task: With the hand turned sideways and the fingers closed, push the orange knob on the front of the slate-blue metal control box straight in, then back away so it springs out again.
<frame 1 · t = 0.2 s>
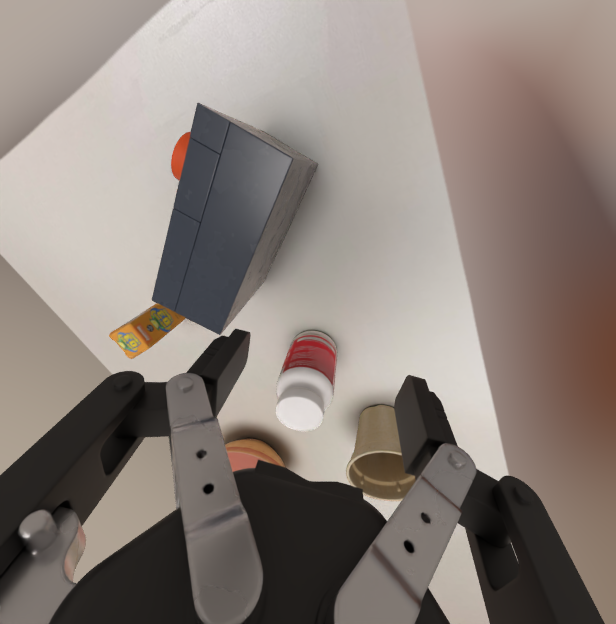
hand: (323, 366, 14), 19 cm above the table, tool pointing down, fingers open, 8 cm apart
pill bottle: (314, 348, 36), on the table
control box: (263, 216, 29), on the table
vase: (256, 450, 48), on the table
knob: (203, 166, 21), point 7 cm above the table, slide at -0.1 cm
supplement box: (184, 300, 36), on the table
flower pot: (380, 418, 40), on the table
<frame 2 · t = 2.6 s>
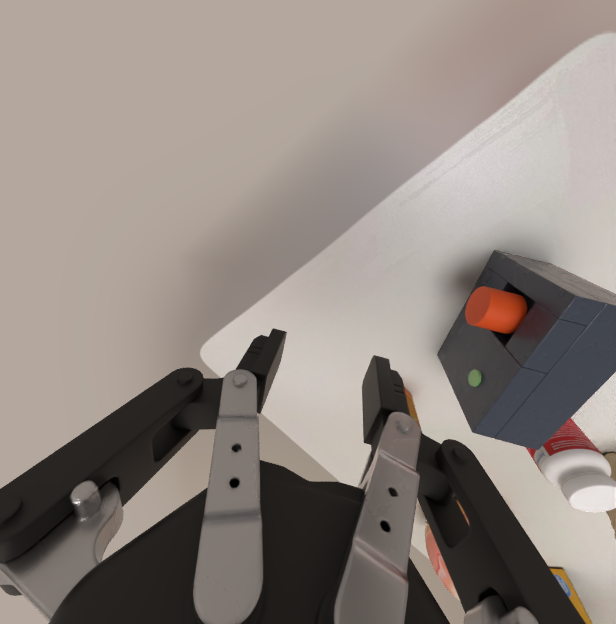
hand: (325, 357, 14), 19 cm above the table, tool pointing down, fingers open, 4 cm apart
pill bottle: (532, 412, 37), on the table
game box: (544, 590, 57), on the table
control box: (488, 314, 32), on the table
vase: (459, 507, 49), on the table
knob: (494, 310, 24), point 7 cm above the table, slide at -0.1 cm
flower pot: (606, 464, 39), on the table
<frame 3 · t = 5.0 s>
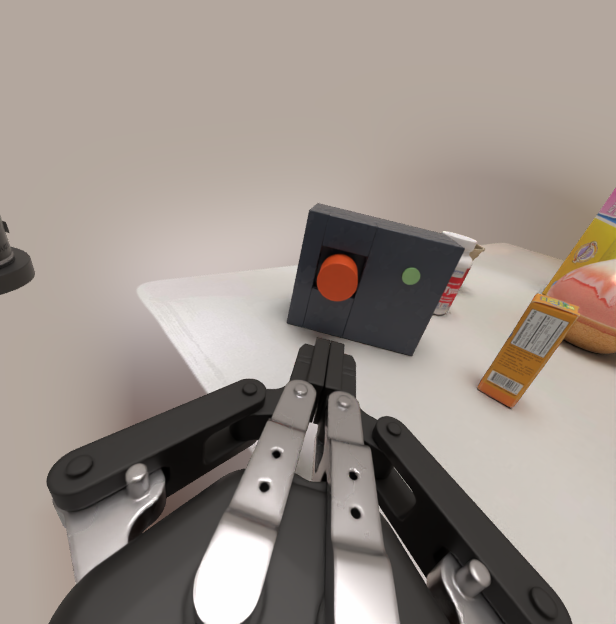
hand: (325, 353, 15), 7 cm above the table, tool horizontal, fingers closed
pill bottle: (425, 306, 43), on the table
game box: (575, 301, 66), on the table
control box: (349, 325, 32), on the table
vase: (576, 342, 43), on the table
knob: (337, 277, 25), point 7 cm above the table, slide at -0.1 cm
supplement box: (493, 392, 27), on the table
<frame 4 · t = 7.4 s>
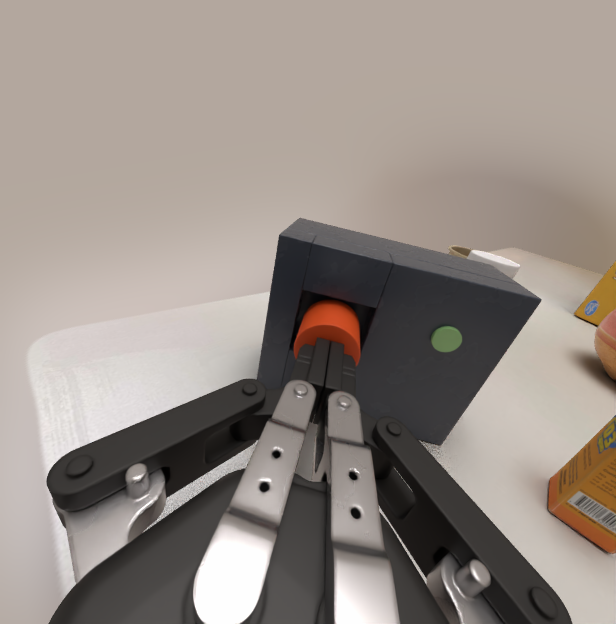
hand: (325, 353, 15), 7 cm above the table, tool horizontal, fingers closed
pill bottle: (446, 345, 33), on the table
game box: (611, 322, 56), on the table
control box: (347, 391, 23), on the table
knob: (328, 337, 16), point 7 cm above the table, slide at 0.2 cm, touching gripper
supplement box: (571, 513, 17), on the table
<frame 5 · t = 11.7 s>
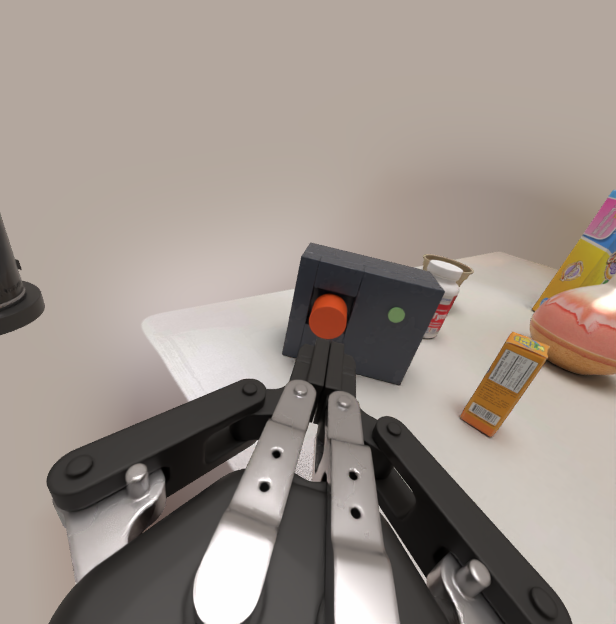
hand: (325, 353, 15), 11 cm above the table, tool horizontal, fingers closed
pill bottle: (416, 329, 45), on the table
game box: (565, 316, 68), on the table
control box: (341, 354, 34), on the table
vase: (561, 362, 45), on the table
knob: (328, 315, 27), point 7 cm above the table, slide at -0.1 cm
supplement box: (475, 421, 29), on the table
flower pot: (429, 302, 57), on the table
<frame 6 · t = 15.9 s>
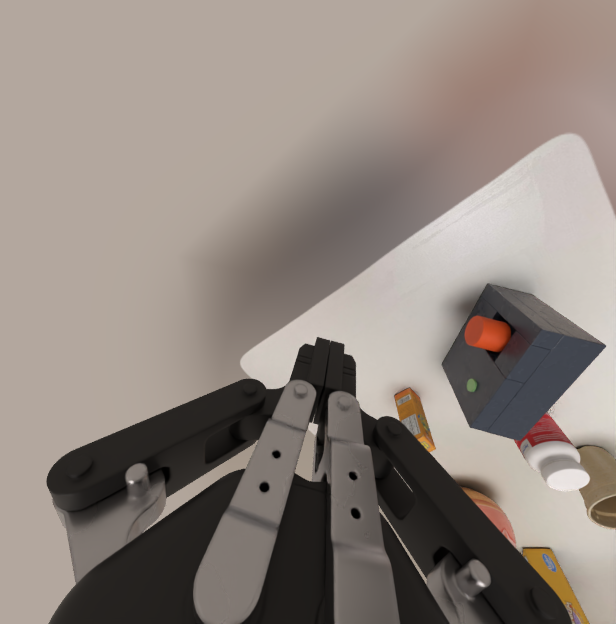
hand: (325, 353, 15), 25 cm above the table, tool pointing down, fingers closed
pill bottle: (521, 412, 45), on the table
game box: (534, 569, 64), on the table
control box: (483, 332, 39), on the table
vase: (459, 495, 56), on the table
knob: (486, 333, 32), point 7 cm above the table, slide at -0.1 cm
supplement box: (407, 395, 47), on the table
flower pot: (583, 456, 47), on the table
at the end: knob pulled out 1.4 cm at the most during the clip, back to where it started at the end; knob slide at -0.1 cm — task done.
